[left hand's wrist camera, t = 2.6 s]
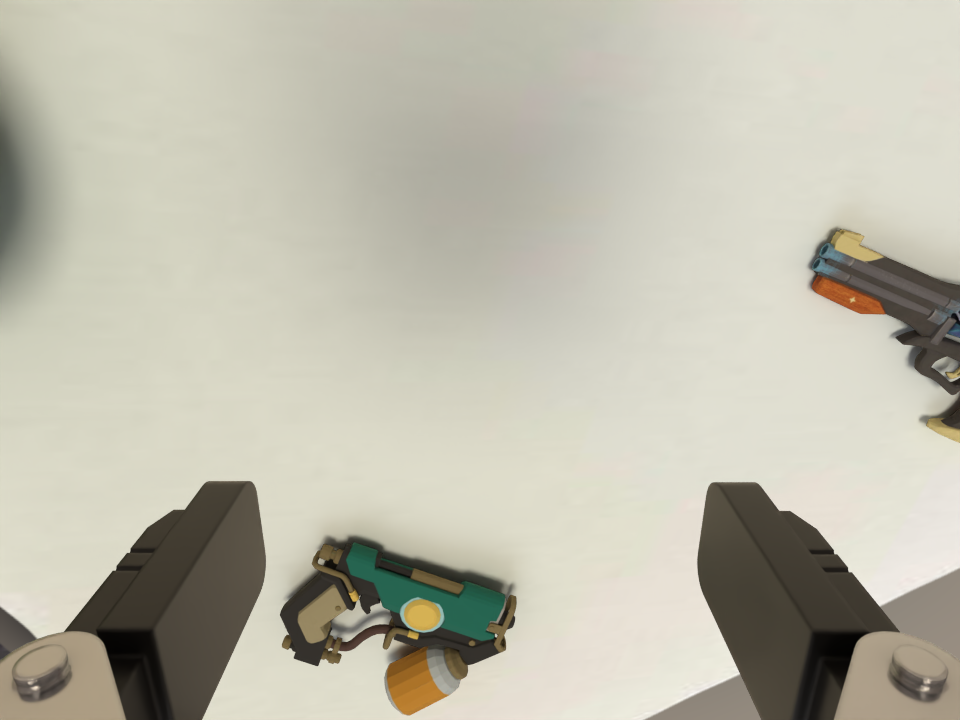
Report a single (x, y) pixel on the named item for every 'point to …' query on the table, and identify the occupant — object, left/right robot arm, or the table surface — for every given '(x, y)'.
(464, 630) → the spray gun
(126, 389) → the table surface
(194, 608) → the left robot arm
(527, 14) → the table surface
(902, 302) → the toy gun
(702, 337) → the table surface
